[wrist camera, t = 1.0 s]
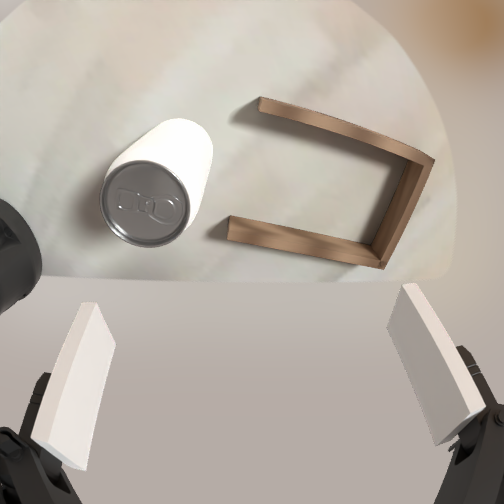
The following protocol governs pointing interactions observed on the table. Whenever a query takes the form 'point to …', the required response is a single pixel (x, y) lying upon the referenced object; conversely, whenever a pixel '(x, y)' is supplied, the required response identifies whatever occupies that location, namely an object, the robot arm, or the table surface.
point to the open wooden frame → (333, 246)
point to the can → (157, 184)
